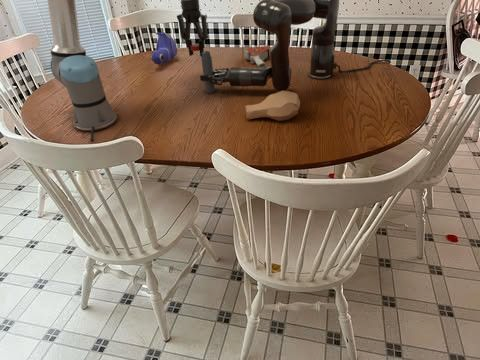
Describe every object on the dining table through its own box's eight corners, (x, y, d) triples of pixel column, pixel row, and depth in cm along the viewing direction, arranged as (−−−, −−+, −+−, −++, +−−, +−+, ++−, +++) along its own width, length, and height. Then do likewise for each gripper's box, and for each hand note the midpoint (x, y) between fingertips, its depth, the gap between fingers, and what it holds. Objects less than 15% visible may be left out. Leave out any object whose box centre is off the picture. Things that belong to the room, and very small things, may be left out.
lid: (201, 50, 158) (200, 46, 157) (190, 51, 158) (189, 46, 157) (201, 47, 162) (201, 43, 161) (191, 48, 162) (190, 43, 161)
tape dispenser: (262, 73, 170) (281, 58, 183) (262, 62, 167) (281, 48, 179) (231, 66, 178) (251, 52, 190) (230, 56, 174) (251, 42, 187)
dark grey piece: (203, 90, 153) (199, 52, 143) (212, 88, 155) (208, 50, 145) (207, 93, 150) (203, 54, 140) (216, 91, 152) (212, 52, 142)
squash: (303, 121, 125) (302, 100, 119) (248, 131, 127) (244, 110, 121) (298, 104, 133) (297, 83, 126) (246, 113, 135) (242, 93, 128)
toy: (165, 64, 197) (145, 70, 175) (161, 31, 190) (139, 33, 168) (182, 63, 195) (163, 69, 172) (178, 30, 188) (158, 32, 166)
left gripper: (166, 0, 148) (175, 56, 162) (205, 0, 142) (211, 59, 156) (174, -3, 153) (183, 51, 167) (212, -3, 148) (217, 53, 162)
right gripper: (244, 62, 149) (205, 61, 152) (237, 74, 138) (195, 73, 141) (245, 79, 153) (207, 78, 157) (238, 92, 142) (198, 91, 146)
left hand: (196, 55), depth 162 cm, fingers closed on lid, 5 cm apart
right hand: (202, 76), depth 149 cm, fingers closed on dark grey piece, 4 cm apart
